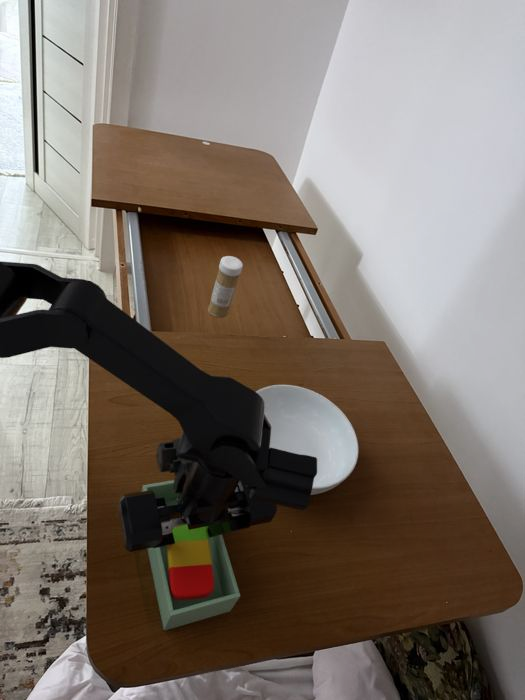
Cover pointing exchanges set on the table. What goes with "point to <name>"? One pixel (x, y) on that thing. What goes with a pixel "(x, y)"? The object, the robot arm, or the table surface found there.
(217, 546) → the bin
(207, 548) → the popsicle
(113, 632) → the table surface
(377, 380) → the table surface
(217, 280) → the sprinkles bottle
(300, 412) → the serving bowl
